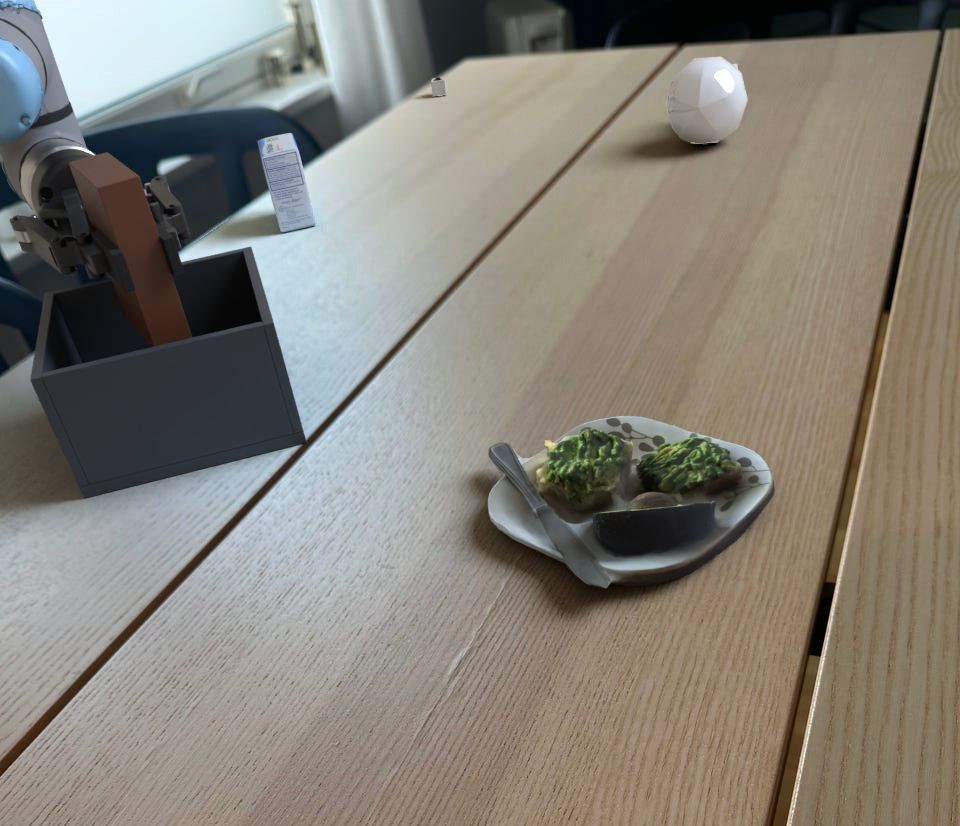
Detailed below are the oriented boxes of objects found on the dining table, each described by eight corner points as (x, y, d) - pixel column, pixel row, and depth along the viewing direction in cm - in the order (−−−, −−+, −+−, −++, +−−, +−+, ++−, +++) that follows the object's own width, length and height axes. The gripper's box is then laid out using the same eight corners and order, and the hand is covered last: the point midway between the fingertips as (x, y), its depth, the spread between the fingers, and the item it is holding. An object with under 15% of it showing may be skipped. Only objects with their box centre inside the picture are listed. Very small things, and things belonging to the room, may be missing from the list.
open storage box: (83, 498, 78) (29, 379, 72) (89, 400, 91) (44, 292, 85) (306, 442, 80) (273, 322, 74) (281, 354, 93) (251, 246, 87)
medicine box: (317, 226, 119) (299, 148, 114) (280, 234, 119) (260, 156, 113) (310, 206, 125) (293, 131, 120) (275, 214, 125) (255, 138, 119)
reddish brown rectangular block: (155, 352, 77) (97, 187, 69) (125, 317, 83) (68, 162, 75) (193, 339, 78) (139, 175, 70) (160, 305, 84) (107, 151, 76)
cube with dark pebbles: (446, 96, 158) (443, 78, 157) (433, 98, 159) (430, 80, 157) (447, 92, 160) (445, 74, 158) (434, 94, 160) (431, 76, 159)
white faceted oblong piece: (686, 170, 121) (708, 146, 133) (757, 114, 116) (774, 94, 127) (641, 102, 119) (668, 84, 130) (711, 41, 113) (733, 28, 124)
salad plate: (413, 521, 70) (401, 463, 67) (582, 410, 78) (578, 355, 75) (635, 630, 58) (633, 567, 55) (805, 487, 67) (811, 425, 64)
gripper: (176, 212, 94) (267, 282, 77) (1, 264, 89) (59, 350, 72) (149, 124, 89) (239, 179, 72) (-38, 174, 84) (14, 245, 67)
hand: (149, 264), depth 72 cm, fingers closed on reddish brown rectangular block, 3 cm apart
